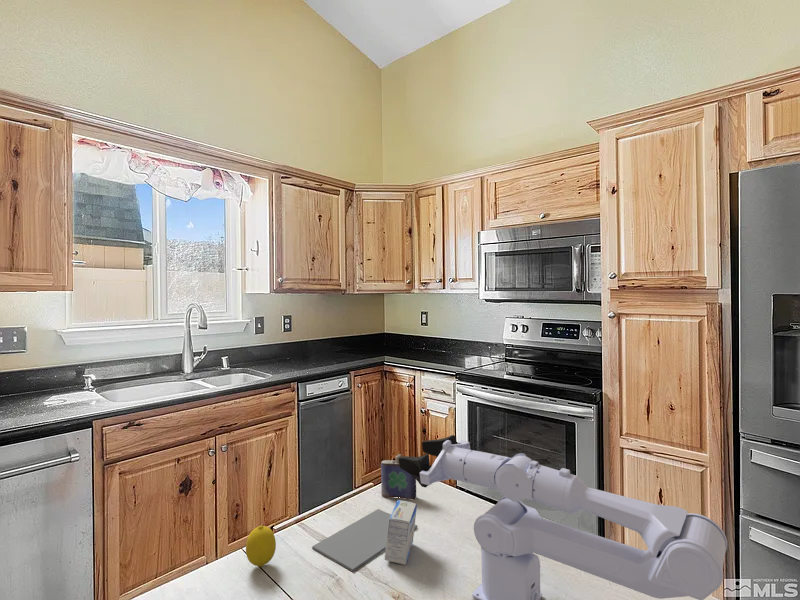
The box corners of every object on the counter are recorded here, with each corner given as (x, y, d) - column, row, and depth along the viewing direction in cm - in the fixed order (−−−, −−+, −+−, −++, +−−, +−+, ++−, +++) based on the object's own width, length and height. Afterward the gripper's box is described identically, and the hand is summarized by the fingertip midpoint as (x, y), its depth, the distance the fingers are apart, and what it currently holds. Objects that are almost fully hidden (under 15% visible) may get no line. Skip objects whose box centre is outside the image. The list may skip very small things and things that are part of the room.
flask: (380, 497, 114) (379, 455, 114) (383, 492, 117) (383, 451, 116) (415, 500, 112) (414, 458, 111) (417, 495, 114) (417, 454, 114)
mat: (417, 527, 99) (417, 525, 99) (352, 571, 83) (352, 569, 83) (378, 511, 106) (378, 509, 106) (312, 548, 91) (312, 546, 91)
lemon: (239, 570, 84) (239, 529, 84) (261, 555, 89) (260, 516, 89) (261, 579, 82) (260, 536, 82) (282, 562, 87) (281, 522, 86)
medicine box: (405, 566, 85) (411, 522, 84) (383, 560, 86) (388, 517, 85) (413, 543, 93) (417, 503, 92) (392, 538, 94) (397, 498, 93)
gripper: (487, 430, 85) (430, 421, 94) (446, 463, 74) (386, 449, 83) (491, 465, 86) (434, 453, 94) (452, 502, 75) (391, 485, 83)
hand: (412, 454), depth 89 cm, fingers open, 7 cm apart
